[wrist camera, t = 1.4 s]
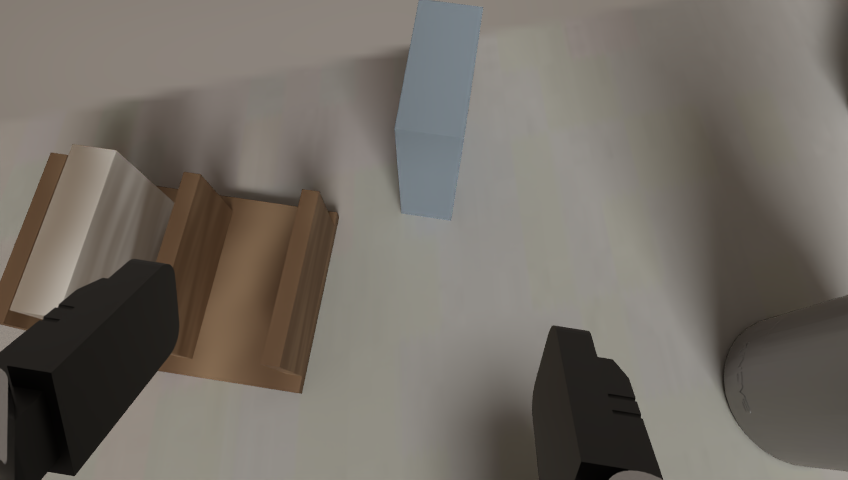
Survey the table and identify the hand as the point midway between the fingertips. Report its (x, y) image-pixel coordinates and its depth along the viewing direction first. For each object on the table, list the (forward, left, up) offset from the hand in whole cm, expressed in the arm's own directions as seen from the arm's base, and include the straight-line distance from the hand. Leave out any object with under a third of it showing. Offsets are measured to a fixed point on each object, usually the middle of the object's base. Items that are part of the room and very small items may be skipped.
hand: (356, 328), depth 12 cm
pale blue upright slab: (0, -16, -25) cm, 30 cm away
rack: (+14, -5, -25) cm, 29 cm away
